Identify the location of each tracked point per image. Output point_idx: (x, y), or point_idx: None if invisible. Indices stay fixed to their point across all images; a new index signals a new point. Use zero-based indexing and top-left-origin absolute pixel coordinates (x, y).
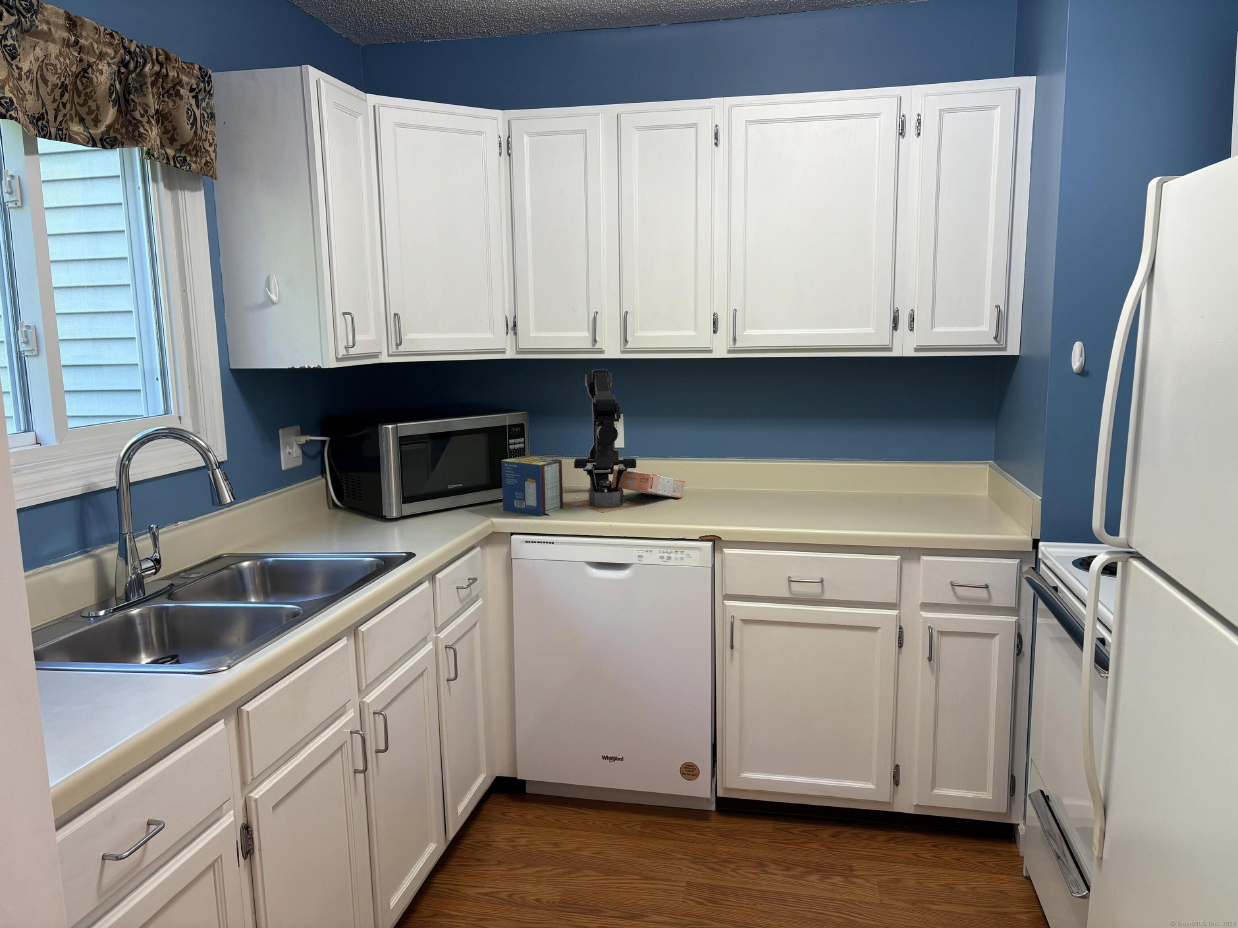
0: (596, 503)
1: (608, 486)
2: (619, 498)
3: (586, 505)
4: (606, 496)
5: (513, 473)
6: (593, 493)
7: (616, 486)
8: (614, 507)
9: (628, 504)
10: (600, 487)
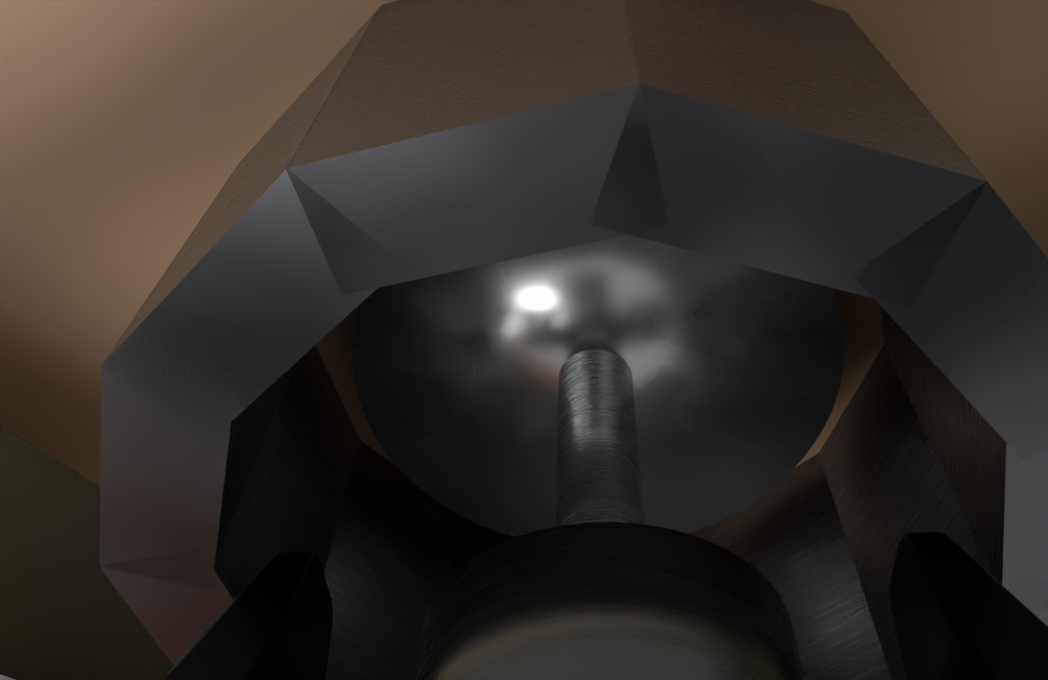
0: (825, 27)
1: (493, 586)
2: (185, 242)
3: (1039, 214)
4: (518, 70)
5: None
6: (1010, 214)
7: (249, 637)
8: (340, 33)
9: None
10: (774, 589)
